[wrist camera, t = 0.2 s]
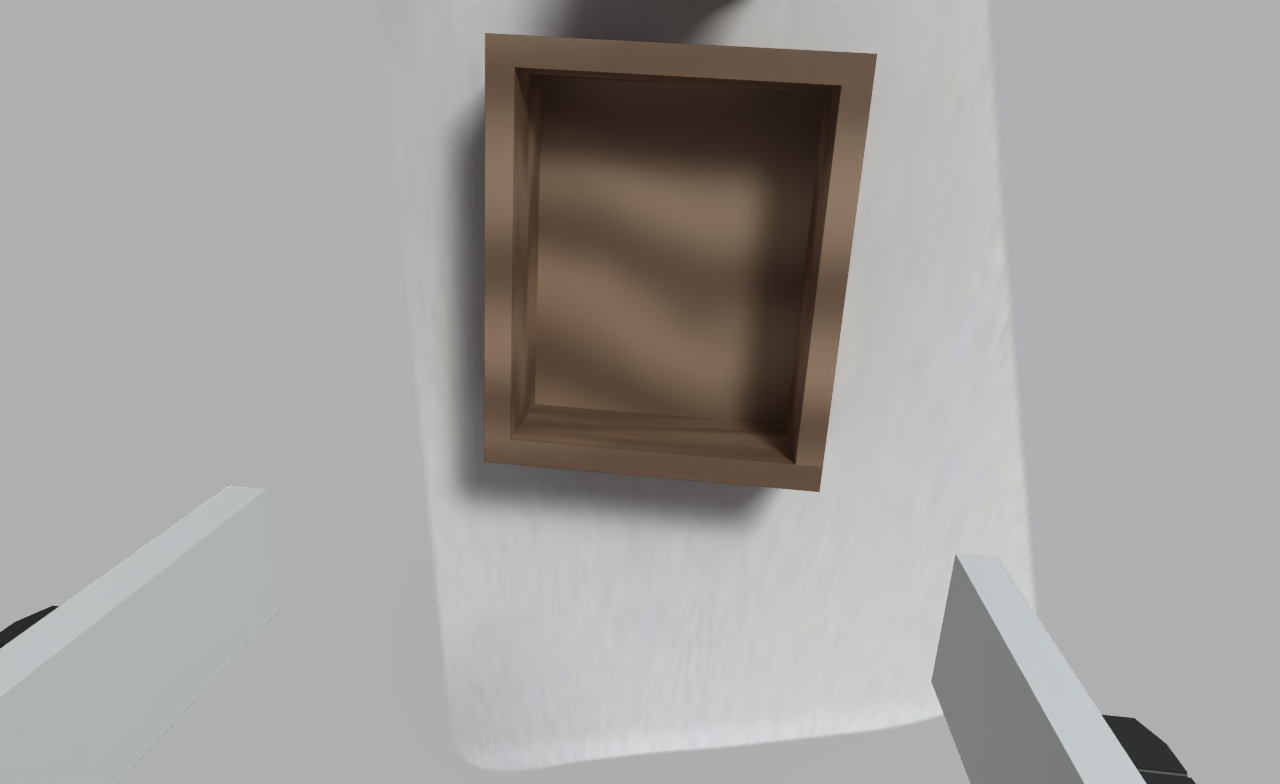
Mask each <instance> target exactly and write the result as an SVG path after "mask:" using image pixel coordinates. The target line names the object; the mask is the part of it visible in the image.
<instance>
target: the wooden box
mask: <svg viewBox="0 0 1280 784" xmlns="http://www.w3.org/2000/svg"><path fill="white" fill-rule="evenodd" d="M876 58H877V54H868V53H849V52H830V51H811V50H792V49H773V48H754V47H735V46H717V45H698V44H679V43H660V42H641V41H622V40H603V39H584V38H565V37H546V36H528V35H509V34H490V33H485V359H484V462H492V463H503V464H514V465H526V466H537V467H548V468H559V469H570V470H581V471H593V472H604V473H615V474H626V475H637V476H648V477H660V478H671V479H682V480H693V481H704V482H715V483H727V484H738V485H749V486H760V487H771V488H782V489H794V490H805V491H816V492H819V491H820V483H821V475H822V468H823V460H824V453H825V445H826V437H827V430H828V422H829V415H830V407H831V400H832V392H833V384H834V377H835V369H836V362H837V354H838V346H839V339H840V331H841V324H842V316H843V309H844V301H845V293H846V286H847V278H848V271H849V263H850V255H851V248H852V240H853V233H854V225H855V218H856V210H857V202H858V195H859V187H860V180H861V172H862V164H863V157H864V149H865V142H866V134H867V127H868V119H869V111H870V104H871V96H872V89H873V81H874V73H875V66H876Z"/></svg>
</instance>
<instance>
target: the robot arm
mask: <svg viewBox="0 0 1280 784" xmlns="http://www.w3.org/2000/svg"><path fill="white" fill-rule="evenodd" d="M275 601H276V600H275V589H274V576H273V564H272V553H271V540H270V527H269V516H268V502H267V490H266V489H261V488H251V487H240V486H229V485H228V486H227V487H226V488H224V489H223V490H221V491H220V492H219V493H217V494H216V495H215V496H213V497H212V498H210V499H209V500H207V501H206V502H205V503H203V504H202V505H201V506H199V507H198V508H196V509H195V510H193V511H192V512H191V513H190V514H188V515H186V516H185V517H184V518H182V519H181V520H179V521H178V522H177V523H175V524H174V525H172V526H171V527H170V528H169V529H167V530H166V531H164V532H163V533H161V534H160V535H158V536H157V537H156V538H154V539H153V540H152V541H150V542H149V543H147V544H146V545H144V546H143V547H142V548H140V549H139V550H138V551H136V552H135V553H133V554H132V555H130V556H129V557H128V558H126V559H125V560H123V561H122V562H121V563H119V564H118V565H117V566H115V567H114V568H112V569H111V570H110V571H108V572H107V573H106V574H104V575H103V576H101V577H100V578H98V579H97V580H96V581H94V582H93V583H91V584H90V585H89V586H87V587H86V588H84V589H83V590H82V591H80V592H79V593H78V594H76V595H75V596H73V597H72V598H70V599H69V600H68V601H66V602H65V603H63V604H62V605H61V606H51V607H49V608H46V609H44V610H42V611H39V612H37V613H35V614H33V615H30V616H28V617H26V618H23V619H21V620H19V621H16V622H14V623H13V624H12V625H10V626H9V627H7V628H6V629H4V630H3V631H1V632H0V784H118V783H119V782H120V781H121V780H122V779H123V778H124V777H125V776H126V775H127V774H128V773H129V771H131V769H132V768H133V767H134V766H135V765H136V764H137V763H138V762H139V761H140V760H141V759H142V757H143V756H144V755H145V754H146V753H147V752H148V751H149V750H150V749H151V748H152V747H153V745H155V744H156V742H157V741H158V740H159V739H160V738H161V737H162V736H163V735H164V734H165V733H166V732H167V731H168V729H169V728H170V727H171V726H172V725H173V724H174V723H175V722H176V721H177V719H179V718H180V717H181V716H182V714H183V713H184V712H185V711H186V710H187V709H188V708H189V707H190V706H191V705H192V704H193V703H194V701H195V700H196V699H197V698H198V697H199V696H200V695H201V694H202V693H203V692H204V691H205V690H206V689H207V687H208V686H209V685H210V684H211V683H212V682H213V681H214V680H215V679H216V678H217V677H218V676H219V675H220V673H221V672H222V671H223V670H224V669H225V668H226V667H227V666H228V665H229V664H230V663H231V662H232V660H233V659H234V658H235V657H236V656H237V655H238V654H239V653H240V652H241V651H242V650H243V649H244V647H245V646H246V645H247V644H248V643H249V642H250V641H251V640H252V639H253V638H254V637H255V636H256V635H257V634H258V632H259V631H260V630H261V629H262V628H263V627H264V626H265V625H266V624H267V623H268V622H269V620H270V619H271V618H272V617H273V616H274V615H275V614H276V602H275ZM932 684H933V687H934V689H935V692H936V695H937V697H938V700H939V702H940V705H941V708H942V710H943V713H944V715H945V718H946V721H947V723H948V726H949V728H950V731H951V734H952V736H953V739H954V741H955V744H956V747H957V749H958V752H959V754H960V757H961V760H962V762H963V765H964V767H965V770H966V773H967V775H968V778H969V780H970V783H971V784H1195V782H1194V781H1193V780H1192V778H1188V777H1187V771H1186V770H1185V769H1184V767H1183V766H1182V765H1181V763H1180V762H1179V760H1178V759H1177V758H1176V756H1175V755H1174V754H1173V752H1172V751H1171V750H1170V749H1169V747H1168V745H1167V744H1166V743H1164V742H1163V741H1162V740H1161V739H1159V738H1158V737H1157V736H1156V735H1154V734H1153V733H1152V732H1151V731H1149V730H1148V729H1147V728H1146V727H1144V726H1143V725H1142V724H1141V723H1139V722H1138V721H1137V720H1136V719H1135V718H1127V717H1118V716H1108V715H1101V714H1100V712H1099V710H1098V709H1097V707H1096V706H1095V704H1094V703H1093V701H1092V700H1091V698H1090V697H1089V695H1088V694H1087V692H1086V691H1085V689H1084V688H1083V686H1082V684H1081V683H1080V682H1079V680H1078V678H1077V677H1076V675H1075V674H1074V672H1073V671H1072V669H1071V668H1070V666H1069V665H1068V663H1067V662H1066V660H1065V658H1064V657H1063V655H1062V654H1061V653H1060V651H1059V649H1058V648H1057V646H1056V645H1055V643H1054V642H1053V640H1052V639H1051V637H1050V636H1049V634H1048V633H1047V631H1046V629H1045V628H1044V627H1043V625H1042V623H1041V622H1040V620H1039V619H1038V617H1037V616H1036V614H1035V613H1034V611H1033V610H1032V608H1031V607H1030V605H1029V604H1028V602H1027V600H1026V599H1025V597H1024V596H1023V594H1022V593H1021V591H1020V590H1019V588H1018V587H1017V585H1016V584H1015V582H1014V581H1013V579H1012V578H1011V576H1010V575H1009V573H1008V571H1007V570H1006V568H1005V567H1004V565H1003V564H1002V562H1001V561H1000V559H999V558H995V557H984V556H973V555H963V554H956V555H955V561H954V566H953V571H952V576H951V582H950V587H949V592H948V597H947V603H946V608H945V613H944V619H943V624H942V629H941V634H940V640H939V645H938V650H937V655H936V661H935V666H934V671H933V676H932Z"/></svg>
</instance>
